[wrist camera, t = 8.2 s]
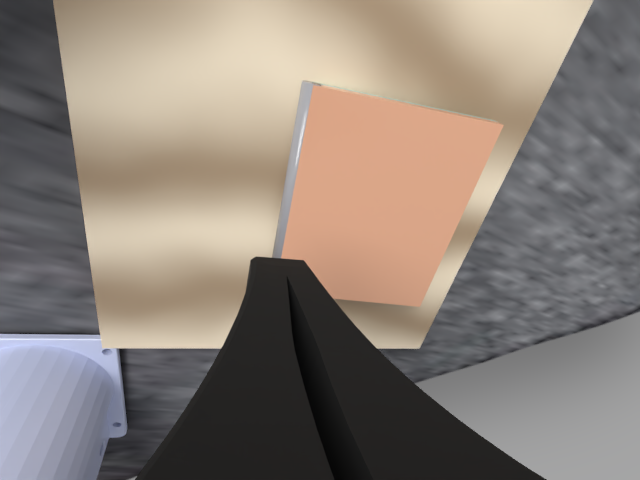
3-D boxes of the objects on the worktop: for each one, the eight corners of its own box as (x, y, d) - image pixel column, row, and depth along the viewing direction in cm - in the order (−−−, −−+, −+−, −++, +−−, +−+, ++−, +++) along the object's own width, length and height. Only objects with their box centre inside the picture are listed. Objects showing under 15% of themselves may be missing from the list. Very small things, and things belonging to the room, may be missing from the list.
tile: (266, 292, 18) (267, 282, 19) (419, 306, 20) (415, 297, 21) (302, 82, 13) (301, 79, 14) (503, 125, 15) (493, 120, 16)
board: (412, 335, 25) (419, 348, 24) (108, 331, 20) (102, 348, 19) (571, -2, 15) (594, -3, 14) (46, -173, 10) (25, -191, 9)
